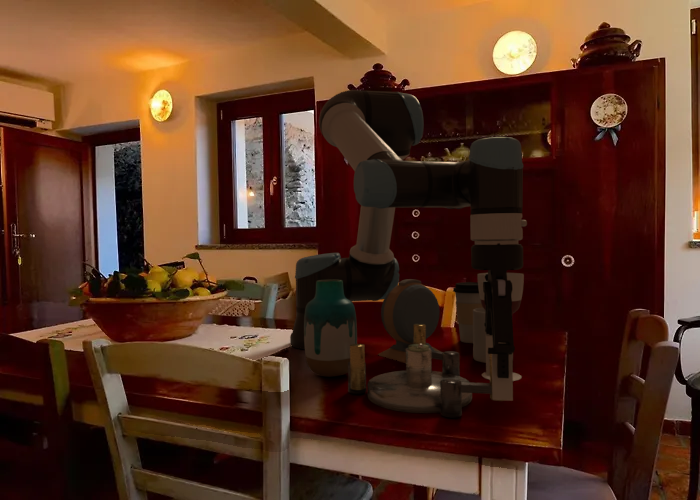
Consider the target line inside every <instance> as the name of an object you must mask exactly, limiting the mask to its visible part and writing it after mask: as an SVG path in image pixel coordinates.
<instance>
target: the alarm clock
mask: <svg viewBox="0 0 700 500" xmlns="http://www.w3.org/2000/svg"><path fill="white" fill-rule="evenodd" d="M382 300H383V301H382V305H381V309H380V310H381V311H380V318H381V322H382V325H383V327H384V329H385V331H386V333H387V334H388V335H389V336H390V337H391V338H392V339H394V340H395V344H392V345H391V346H390V347H389V348H387V349H385V350H384V351H382V352H379V353H378V354H377V356H378V355H379V357H382V358H385V357H386V359H390V360H392V359H393V360H392V361H396V360H397V361H396V362H398V363H404V364H406V349H407V348H408V346H409V345H412V344H414V333H413V325H414V324H425V325H426V340H427V339H428V338H430V337H431V336H432V334H433V333H434V332H435V331H436V329H437V327H438V323H439V319H440V314H441V313H440V304H439V300H438V299H437V297H436V295H435V294H434V292H433V291H432V290H431V289H430V288H428V287H427V286H426V285H425V284H422V281H421V280H419V279H412V278H409V279H407V278H406V279H403V280H399V282H398V285H397V286H395V287H394V288H392V289H391V290H390V292H389V293H388V294H387V295H386V297H385V299H382ZM426 345H428V346H429V348H430V349H431V350H433V351H439V352H442V351H441V350H439V349H437V348H435V347H434V346H432V345H431V344H430V343H428V342H426Z"/></svg>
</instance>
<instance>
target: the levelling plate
mask: <svg viewBox="0 0 700 500" xmlns="http://www.w3.org/2000/svg"><path fill="white" fill-rule="evenodd" d="M432 367H433V366H432V358H431V349H430V348H429V346H428V345H424V344H412V345H409V346H408V348H407V349H406V363H405V370H397V371H391V372H385V373H382V374H378V375H375V376H374V377H372V378H370V379H369V380H368V382H367V383H366V390H367V399H368V400H369V401H370V402H371V403H372V404H374V405H376V406H378V407H380V408H383V409H387V410H389V411H390V410H391V411H396V412H401V413H409V414H412V413H413V414H436V413H437V414H439V413H441V395H440V381H441V380H443V379H456V380H460V381H461V382H470V381H469V380H468V379H466V378H465V377H462V376H457V375H453V374H449V373H444V372H443V371H436V370H432ZM472 401H473V393H462V408H464V407H466V406H468V405H469V404H470V403H471V402H472Z"/></svg>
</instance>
